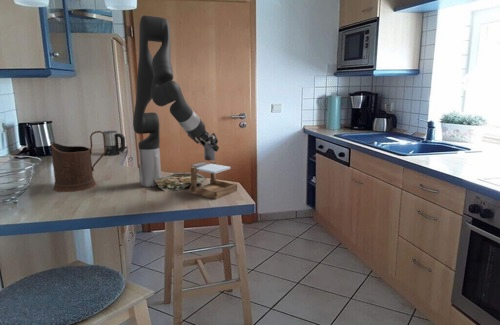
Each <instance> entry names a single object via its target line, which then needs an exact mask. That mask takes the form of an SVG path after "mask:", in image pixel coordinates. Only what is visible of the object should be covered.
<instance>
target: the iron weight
mask: <svg viewBox="0 0 500 325" xmlns="http://www.w3.org/2000/svg"><path fill="white" fill-rule="evenodd" d="M208 139H209V138H208ZM207 141H208V140H207ZM210 143H212V142H211V141H210ZM203 148H204V150H203V151H204V152H203V153H204V161H210V162H211V161H215V160H216V151H214V149H213V148H212V147H211V146H210V145H209V144H206V143H205V142H204V147H203Z"/></svg>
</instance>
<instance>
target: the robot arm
mask: <svg viewBox="0 0 500 325" xmlns="http://www.w3.org/2000/svg"><path fill="white" fill-rule="evenodd" d="M138 28H139V30H138V33H139V37H138V40H139V42H138V44H139V45H138V46H139V47H138V51H139V52H138V63H137V64H138V65H137V72H136V73H137V75H136V96H135V97H136V98H135V104H134V112H133V118H132V125H133V126H132V127H133V130H134V132H135V133H136V134H138V135H142V134H149V135H148V136H147V137H146V138H144V139H142V140H140V141H139V142H138V157H139V164H138V174H139V175H138V177H139V185H141V186H142V187H146V188H149V187H151V186H152V187H158V186H157V183H156V182H155V180H154V179H157V178H161V177H162V168H161V165H162V164H161V150H160V141H161V138H160V118H159V116H158V114H157V113H156V112H153V111H152V112H145V111H146V108H147V107H148V105H149V103H150V102H151V100H152V102H153V103H154V104H155V105H156V106H158V107H164V106H167V105H169V104H171V105H170V107H169V112H170V114H171V116H172V117H173V118H174V119H175V120H176V122H178V125H180V127H181V128H182V129H183V131H185V133H187V136H188V137H189V138H190V139H191V140H192V141H193V142H195V143H196V144H199V145H200V146H202V147H203V148H204V142H205V143H206V144H209V145H210V146H211V147H212V148H213V149H214V151H215V153H217V152H218V151H219V149H220V147H219V145H218V143H219V140H218V138H217V136H216V134H215V133H214V132H213V133H209V131H207V130H206V124H205V123H204V121H203V120H202V119H201V118H200V117H199V115H198V114H197V112H195V111H194V110H193V109H192V107H191V106H190V105H189V103H187V101H186V99H185V97H184V94H183V92H182V89H181V87H180V85H179V84H178V82H177V81H174V73H173V71H174V70H173V66H172V61H171V29H170V23H169V21H168V20H167V18H164V17H159V16H154V15H142V16H141V17H140V20H139V27H138ZM149 42H153V43H155V42H156V43H161V45H160V47H159V49H158V50H157V51H156V52H155V54H154V55H153V56H152V54H151V50H150V48H149ZM208 138H209V139H208ZM207 140H208V141H207ZM210 141H211V142H212V143H210ZM152 187H151V188H152Z"/></svg>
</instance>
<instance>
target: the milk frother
mask: <svg viewBox="0 0 500 325" xmlns="http://www.w3.org/2000/svg"><path fill="white" fill-rule="evenodd" d="M103 132H104V134H105V140H106V153H105V154H104V156H115V155H119V154H120V152H122V151H125V150H126V149H127V148H128V146H127V145H126V140H125V139H126V136H124V134H123V133H119V132H118V131H117V130H106V131H105V130H103ZM117 132H118V133H117ZM119 139H120V145H119ZM102 141H103V143H104V136H103V135H102ZM119 146H120V147H119ZM103 150H104V152H105V146H104V145H103ZM104 152H103V153H104Z"/></svg>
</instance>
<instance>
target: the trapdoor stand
mask: <svg viewBox="0 0 500 325" xmlns="http://www.w3.org/2000/svg"><path fill="white" fill-rule="evenodd" d="M210 163H212V164H217V163H216V161H215V160H211V161H210ZM210 163H209V164H210ZM190 173H191V184H190V185H189V193H190V194H194V195H198V196H203V197H206V198H210V199H214V200H217V199H220V198H222V197H225V196H227V195H230V194H232V193H235V192H238V184H237V183H234V182H228V181H223V180H220V179H217V173H216V174H214V173H210V179H209V183H208V184H205V185H202V186H199V187H198V183H197V174H198V173H197V171H196V167H191V166H190Z"/></svg>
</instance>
